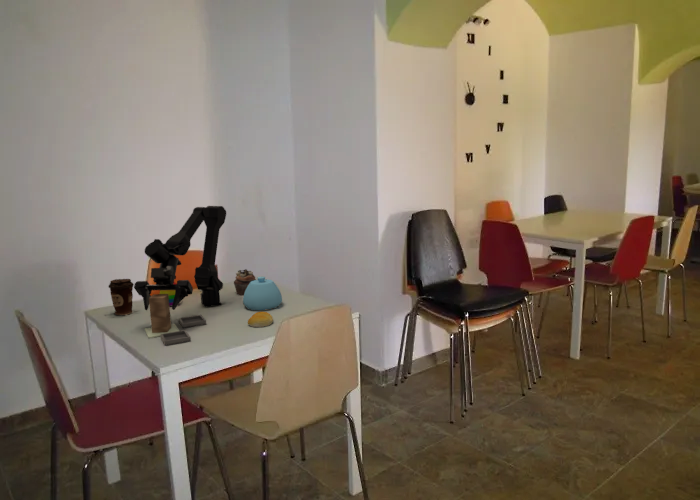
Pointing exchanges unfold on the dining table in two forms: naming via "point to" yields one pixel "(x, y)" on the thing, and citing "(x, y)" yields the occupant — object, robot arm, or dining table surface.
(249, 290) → the sugar bowl
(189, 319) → the tray
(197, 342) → the dining table surface
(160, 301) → the walnut block
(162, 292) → the decorative egg
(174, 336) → the tray
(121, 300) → the coffee cup
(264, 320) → the bread roll
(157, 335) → the pad
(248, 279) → the cupcake
